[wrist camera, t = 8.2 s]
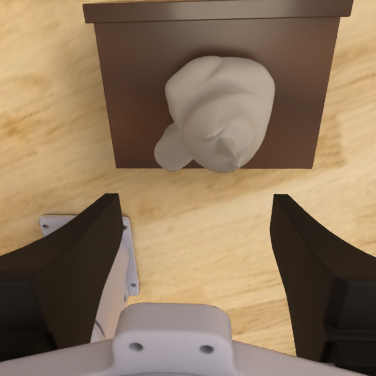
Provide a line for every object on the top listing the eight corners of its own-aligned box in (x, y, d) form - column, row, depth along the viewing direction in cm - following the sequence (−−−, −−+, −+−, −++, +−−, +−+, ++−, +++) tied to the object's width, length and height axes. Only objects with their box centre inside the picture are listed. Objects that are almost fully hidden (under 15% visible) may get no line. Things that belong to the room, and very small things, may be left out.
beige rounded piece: (290, 104, 18) (340, 174, 11) (195, 171, 20) (188, 262, 13) (231, 18, 16) (247, 37, 9) (134, 103, 18) (89, 169, 11)
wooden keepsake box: (294, 137, 24) (318, 178, 19) (132, 138, 25) (111, 178, 19) (314, -5, 19) (354, -5, 14) (115, 1, 20) (81, 4, 15)
